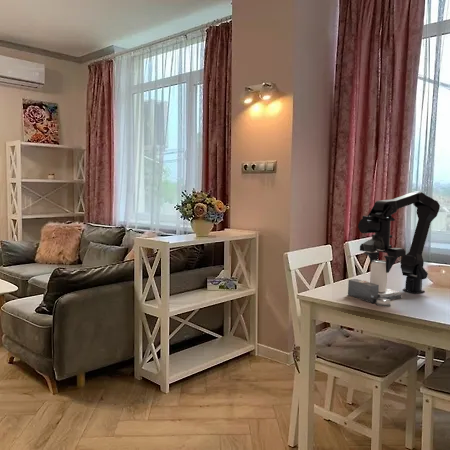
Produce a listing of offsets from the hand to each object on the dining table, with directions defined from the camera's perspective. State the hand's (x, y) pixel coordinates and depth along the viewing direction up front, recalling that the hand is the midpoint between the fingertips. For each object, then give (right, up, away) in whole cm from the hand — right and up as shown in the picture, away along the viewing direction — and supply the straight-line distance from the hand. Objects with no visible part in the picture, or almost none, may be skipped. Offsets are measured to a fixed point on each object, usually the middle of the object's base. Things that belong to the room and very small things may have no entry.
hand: (380, 271), depth 187 cm
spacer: (-3, -12, -12) cm, 17 cm away
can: (-1, -8, 0) cm, 8 cm away
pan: (0, -9, +1) cm, 9 cm away
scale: (-3, -10, 0) cm, 11 cm away
